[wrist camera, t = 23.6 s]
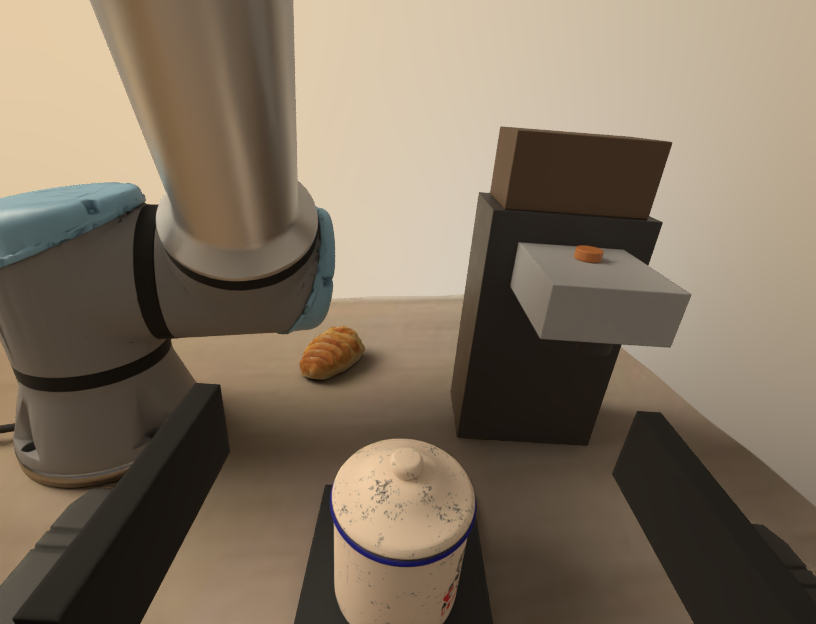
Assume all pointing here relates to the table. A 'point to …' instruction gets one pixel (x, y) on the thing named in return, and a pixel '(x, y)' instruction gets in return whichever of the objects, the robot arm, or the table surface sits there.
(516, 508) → the table surface
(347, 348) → the pastry
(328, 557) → the rubber mat
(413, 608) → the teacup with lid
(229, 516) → the table surface
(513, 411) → the coffee maker
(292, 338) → the table surface
